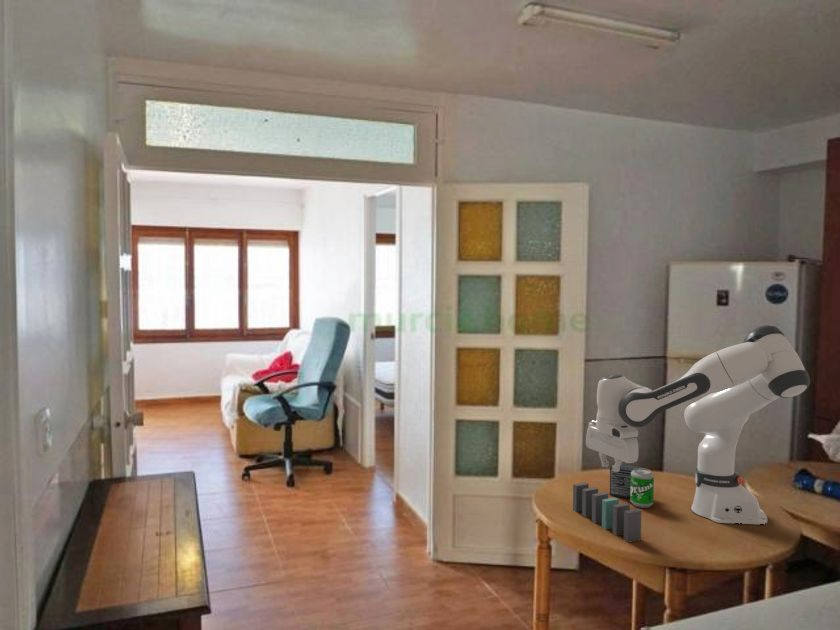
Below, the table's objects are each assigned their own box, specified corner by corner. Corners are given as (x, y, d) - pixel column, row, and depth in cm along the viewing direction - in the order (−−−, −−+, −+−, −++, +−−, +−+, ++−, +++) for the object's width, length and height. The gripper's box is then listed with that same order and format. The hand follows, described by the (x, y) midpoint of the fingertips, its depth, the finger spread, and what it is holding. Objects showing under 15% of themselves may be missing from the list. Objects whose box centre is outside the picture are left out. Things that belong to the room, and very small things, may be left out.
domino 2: (582, 515, 200) (582, 489, 200) (594, 513, 202) (594, 487, 201) (585, 517, 198) (585, 491, 198) (597, 515, 200) (598, 488, 200)
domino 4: (601, 527, 191) (602, 499, 190) (614, 524, 193) (614, 497, 192) (605, 529, 189) (605, 501, 189) (618, 526, 191) (618, 499, 190)
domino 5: (612, 533, 186) (612, 505, 186) (625, 530, 188) (625, 502, 188) (616, 535, 185) (616, 507, 184) (629, 533, 187) (629, 504, 186)
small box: (643, 495, 218) (643, 466, 218) (639, 500, 213) (639, 471, 212) (613, 489, 224) (614, 462, 223) (608, 495, 218) (609, 466, 218)
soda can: (631, 499, 214) (632, 466, 213) (654, 502, 211) (654, 469, 210) (628, 506, 207) (629, 472, 207) (652, 510, 204) (652, 475, 203)
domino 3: (591, 521, 196) (592, 494, 195) (604, 518, 197) (604, 492, 197) (595, 523, 194) (595, 496, 193) (607, 520, 196) (608, 493, 195)
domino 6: (623, 540, 182) (624, 511, 181) (636, 537, 184) (637, 508, 183) (627, 542, 180) (628, 513, 179) (640, 539, 182) (641, 510, 181)
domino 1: (572, 510, 205) (573, 484, 204) (585, 507, 207) (585, 482, 206) (576, 512, 203) (576, 486, 202) (588, 509, 205) (588, 484, 204)
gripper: (581, 419, 197) (581, 461, 198) (626, 434, 179) (625, 480, 180) (596, 417, 200) (596, 458, 201) (642, 432, 181) (641, 477, 182)
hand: (610, 469), depth 190 cm, fingers open, 3 cm apart
